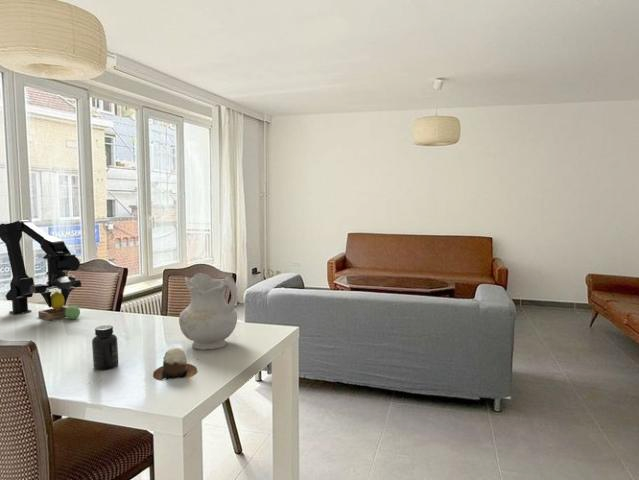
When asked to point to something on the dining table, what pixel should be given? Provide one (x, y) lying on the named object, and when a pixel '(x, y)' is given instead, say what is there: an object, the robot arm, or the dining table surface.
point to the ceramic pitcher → (209, 312)
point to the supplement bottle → (104, 348)
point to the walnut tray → (53, 313)
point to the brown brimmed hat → (174, 366)
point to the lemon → (57, 300)
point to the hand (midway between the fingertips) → (57, 306)
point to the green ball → (72, 312)
